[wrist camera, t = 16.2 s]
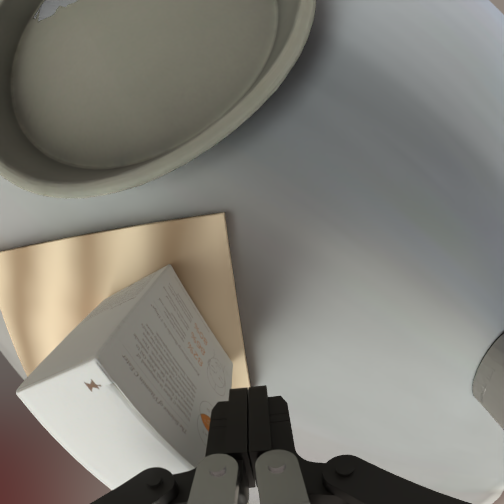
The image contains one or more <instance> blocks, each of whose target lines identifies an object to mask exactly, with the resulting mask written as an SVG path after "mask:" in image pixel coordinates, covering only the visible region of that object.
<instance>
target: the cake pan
mask: <svg viewBox="0 0 504 504" xmlns="http://www.w3.org/2000/svg"><path fill="white" fill-rule="evenodd" d="M44 1H45V0H0V175H1V176H3V177H4V178H5V179H7V180H8V181H10V182H11V183H13V184H14V185H16V186H18V187H20V188H22V189H24V190H27V191H29V192H33V193H35V194H38V195H43V196H48V197H56V198H88V197H95V196H102V195H107V194H111V193H116V192H120V191H123V190H126V189H130V188H132V187H137V186H140V185H143V184H145V183H147V182H150V181H152V180H154V179H157V178H159V177H161V176H163V175H165V174H167V173H169V172H171V171H173V170H175V169H177V168H179V167H181V166H183V165H185V164H186V163H188V162H190V161H191V160H193V159H195V158H196V157H198V156H199V155H201V154H202V153H204V152H205V151H207V150H209V149H210V148H212V147H213V146H214V145H216V144H217V143H219V142H220V141H221V140H223V139H224V138H225V137H226V136H228V135H230V134H231V133H232V132H233V131H234V130H235V129H236V128H238V127H239V126H240V125H241V124H243V123H244V122H245V121H246V120H247V119H248V118H249V117H250V116H251V115H252V114H253V113H254V112H255V111H257V110H258V109H259V108H260V107H261V106H262V105H263V104H264V102H265V101H266V100H267V99H268V98H269V97H270V96H271V95H272V94H273V93H274V92H275V91H276V90H277V89H278V87H279V86H280V84H281V83H282V82H283V81H284V79H285V78H286V76H287V75H288V73H289V72H290V70H291V69H292V67H293V66H294V64H295V63H296V61H297V60H298V58H299V56H300V55H301V53H302V50H303V48H304V45H305V43H306V42H307V38H308V36H309V33H310V31H311V26H312V23H313V20H314V16H315V9H316V0H78V1H77V2H75V3H73V4H69V5H67V7H62V6H59V7H58V9H57V10H56V12H55V14H54V15H52V16H50V17H48V18H46V19H43V20H41V21H39V22H38V17H39V12H40V10H39V12H38V15H37V17H36V19H34V18H33V17H34V15H35V14H36V12H37V11H38V9H39V7H40V6H41V4H42V3H43V2H44Z"/></svg>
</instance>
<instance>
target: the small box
mask: <svg viewBox="0 0 504 504" xmlns="http://www.w3.org/2000/svg"><path fill="white" fill-rule="evenodd" d="M232 372H233V363H232V361H231V360H230V358H229V357H228V355H227V354H226V353H225V351H224V350H223V348H222V346H221V345H220V344H219V342H218V340H217V339H216V337H215V336H214V334H213V333H212V331H211V330H210V328H209V327H208V325H207V323H206V322H205V320H204V319H203V317H202V315H201V314H200V312H199V311H198V309H197V307H196V306H195V304H194V303H193V301H192V299H191V298H190V296H189V295H188V293H187V291H186V290H185V288H184V286H183V285H182V283H181V281H180V280H179V278H178V276H177V274H176V273H175V271H174V269H173V267H172V266H171V265H170V264H169V265H167V266H165V267H163V268H161V269H159V270H157V271H156V272H154V273H152V274H150V275H148V276H146V277H144V278H142V279H141V280H139V281H137V282H135V283H133V284H131V285H130V286H128V287H126V288H124V289H122V290H120V291H119V292H117V293H115V294H113V295H111V296H110V297H108V298H106V299H104V300H103V301H102V302H101V303H100V304H99V305H98V306H97V307H96V308H95V309H94V310H93V311H92V312H91V313H90V314H89V315H88V316H87V317H86V318H85V319H83V320H82V321H81V322H80V323H79V324H78V325H77V326H76V327H75V328H74V329H73V330H72V331H71V332H70V333H69V334H68V335H67V336H66V337H65V338H64V339H63V340H62V342H61V343H60V344H59V345H58V346H57V347H56V348H55V349H54V350H53V351H52V352H51V353H50V354H49V355H48V356H47V357H46V358H45V359H44V360H43V361H42V362H41V363H40V364H39V365H38V366H37V367H36V368H35V370H34V371H33V372H32V373H31V374H30V375H29V376H28V377H27V378H26V379H25V381H24V382H23V383H22V384H21V385H20V386H19V388H18V389H17V391H16V394H17V396H18V397H19V398H20V399H21V400H22V402H23V403H24V404H25V405H26V407H27V408H28V409H29V410H30V411H31V412H32V414H33V415H34V416H35V417H36V418H37V419H38V421H39V422H40V423H41V424H42V425H43V426H44V427H45V428H46V430H47V431H48V432H49V433H50V434H51V435H52V436H53V437H54V438H55V439H56V440H57V441H58V442H59V443H60V444H61V445H62V446H63V447H64V448H65V449H66V450H67V451H68V452H69V453H70V454H71V455H72V456H73V457H74V458H75V459H76V460H77V461H78V462H80V463H81V464H82V465H83V466H84V467H85V468H86V469H87V470H88V471H90V472H91V473H92V474H93V475H94V476H95V477H96V478H98V479H99V480H100V481H101V482H102V483H104V484H105V485H106V486H107V487H109V488H110V489H111V490H114V489H115V488H117V487H119V486H120V485H122V484H123V483H125V482H127V481H128V480H130V479H131V478H133V477H134V476H136V475H137V474H139V473H140V472H142V471H144V470H145V469H148V468H152V467H161V468H164V469H167V470H168V471H170V472H171V473H172V475H173V474H177V473H182V472H187V471H190V470H192V469H194V468H196V467H197V465H198V463H199V462H200V461H201V460H202V459H203V458H205V454H206V447H207V440H208V432H209V425H210V421H211V420H210V418H211V411H212V409H213V408H214V406H215V405H216V403H217V402H219V401H228V400H229V390H230V389H231V387H232Z"/></svg>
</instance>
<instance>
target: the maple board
mask: <svg viewBox="0 0 504 504" xmlns="http://www.w3.org/2000/svg"><path fill="white" fill-rule="evenodd" d="M169 264H170V265H171V266H172V267H173V269H174V271H175V273H176V274H177V276H178V278H179V280H180V281H181V283H182V285H183V286H184V288H185V290H186V291H187V293H188V295H189V296H190V298H191V299H192V301H193V303H194V304H195V306H196V307H197V309H198V311H199V312H200V314H201V315H202V317H203V319H204V320H205V322H206V323H207V325H208V327H209V328H210V330H211V331H212V333H213V334H214V336H215V337H216V339H217V340H218V342H219V344H220V345H221V346H222V348H223V350H224V351H225V353H226V354H227V355H228V357H229V358H230V360H231V361H232V363H233V372H232V387H231V389H235V388H246V387H247V388H249V387H251V384H250V378H249V372H248V366H247V360H246V354H245V348H244V341H243V335H242V328H241V322H240V316H239V309H238V302H237V296H236V289H235V282H234V275H233V269H232V262H231V255H230V248H229V241H228V233H227V226H226V219H225V212H222V213H215V214H208V215H200V216H193V217H187V218H180V219H173V220H167V221H160V222H154V223H148V224H141V225H135V226H129V227H123V228H117V229H112V230H106V231H100V232H95V233H89V234H84V235H78V236H73V237H68V238H63V239H58V240H53V241H48V242H43V243H38V244H33V245H28V246H23V247H19V248H14V249H10V250H5V251H1V252H0V309H1V312H2V315H3V318H4V321H5V323H6V326H7V329H8V332H9V334H10V337H11V340H12V342H13V345H14V347H15V350H16V352H17V354H18V357H19V359H20V361H21V364H22V366H23V368H24V370H25V372H26V375H27V377H28V376H29V375H30V374H31V373H32V372H33V371H34V370H35V368H36V367H37V366H38V365H39V364H40V363H41V362H42V361H43V360H44V359H45V358H46V357H47V356H48V355H49V354H50V353H51V352H52V351H53V350H54V349H55V348H56V347H57V346H58V345H59V344H60V343H61V342H62V340H63V339H64V338H65V337H66V336H67V335H68V334H69V333H70V332H71V331H72V330H73V329H74V328H75V327H76V326H77V325H78V324H79V323H80V322H81V321H82V320H83V319H85V318H86V317H87V316H88V315H89V314H90V313H91V312H92V311H93V310H94V309H95V308H96V307H97V306H98V305H99V304H100V303H101V302H102V301H103V300H104V299H106V298H108V297H110V296H111V295H113V294H115V293H117V292H119V291H120V290H122V289H124V288H126V287H128V286H130V285H131V284H133V283H135V282H137V281H139V280H141V279H142V278H144V277H146V276H148V275H150V274H152V273H154V272H156V271H157V270H159V269H161V268H163V267H165V266H167V265H169Z"/></svg>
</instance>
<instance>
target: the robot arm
mask: <svg viewBox="0 0 504 504" xmlns="http://www.w3.org/2000/svg"><path fill="white" fill-rule="evenodd" d="M473 395H474V397H475V398H476V399H477V400H478V401H479V402H480V403H481V405H482V406H483V407H484V408H485V409H486V410H487V411H488V412H489V414H490V415H491V416H492V417H493V418H494V420H495V421H496V422H497V423H498V424H499V425H500V426H501V427H502V429H503V430H504V334H503V335H501V336H500V337H499V338H498V339H497V341H496V342H495V343H494V344H493V345H492V347H491V348H490V349H489V351H488V352H487V353H486V355H485V357H484V358H483V360H482V362H481V364H480V366H479V368H478V370H477V372H476V375H475V378H474V382H473ZM210 420H211V421H210V425H209V432H208V440H207V447H206V454H205V458H203V459H202V460H201V461H200V462H199V463H198V465H197V467H196V468H194V469H192V470H190V471H187V472H182V473H177V474H173V475H172V473H171V472H170V471H168V470H167V469H164V468H161V467H152V468H148V469H145V470H144V471H142V472H140V473H139V474H137V475H136V476H134V477H133V478H131V479H130V480H128V481H127V482H125V483H123V484H122V485H120V486H119V487H117V488H115V489H114V490H112V491H111V492H109V493H107V494H106V495H104V496H102V497H101V498H99V499H97V500H96V501H94V502H92V503H90V504H249V501H248V500H249V488H252V487H255V481H256V485H257V487H258V491H259V498H260V504H471V503H468V502H465V501H462V500H459V499H456V498H453V497H450V496H447V495H444V494H441V493H439V492H436V491H433V490H431V489H428V488H425V487H423V486H420V485H418V484H415V483H413V482H411V481H408V480H406V479H403V478H401V477H399V476H397V475H394V474H392V473H390V472H388V471H385V470H383V469H381V468H379V467H377V466H375V465H373V464H371V463H368V462H366V461H364V460H362V459H360V458H358V457H356V456H353V455H340V456H337V457H334V458H332V459H331V460H329V461H328V462H327V463H315V462H310V461H307V460H304V459H303V458H301V457H300V456H299V455H298V454H297V453H296V451H295V447H294V441H293V435H292V429H291V423H290V417H289V411H288V405H287V402H286V401H285V400H284V399H283V398H282V397H281V396H275V397H268V395H267V387H266V385H265V386H256V387H249V388H247V387H246V388H235V389H230V390H229V400H228V401H219V402H217V403H216V405H215V406H214V408H213V409H212V411H211V418H210Z"/></svg>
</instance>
